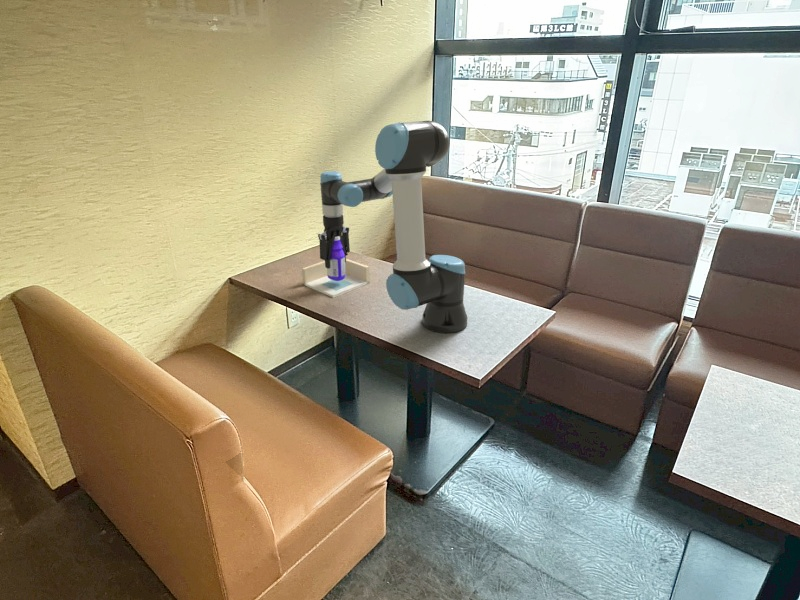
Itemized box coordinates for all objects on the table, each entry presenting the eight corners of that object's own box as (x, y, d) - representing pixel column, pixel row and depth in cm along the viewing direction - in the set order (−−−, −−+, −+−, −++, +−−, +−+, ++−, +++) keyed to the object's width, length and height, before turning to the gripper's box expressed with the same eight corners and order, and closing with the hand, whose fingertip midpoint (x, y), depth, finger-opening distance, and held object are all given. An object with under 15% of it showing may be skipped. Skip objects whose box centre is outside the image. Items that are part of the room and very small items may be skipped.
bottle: (348, 278, 196) (346, 235, 189) (338, 283, 192) (336, 239, 185) (334, 274, 200) (332, 232, 193) (324, 278, 196) (322, 235, 189)
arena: (369, 282, 201) (369, 266, 198) (333, 297, 188) (332, 280, 185) (339, 271, 212) (338, 255, 209) (303, 284, 199) (301, 268, 196)
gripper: (344, 208, 194) (347, 264, 204) (306, 218, 182) (311, 277, 191) (358, 211, 189) (360, 268, 199) (319, 222, 177) (324, 282, 187)
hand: (336, 273), depth 195 cm, fingers closed on bottle, 5 cm apart
